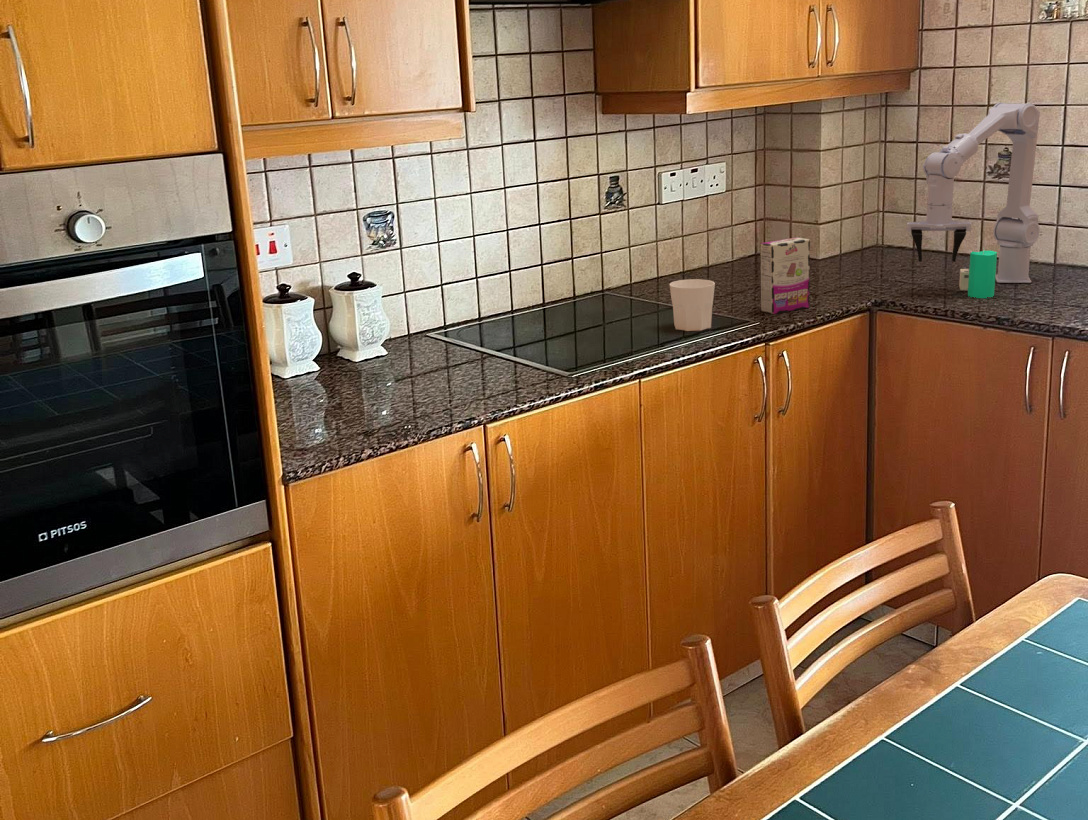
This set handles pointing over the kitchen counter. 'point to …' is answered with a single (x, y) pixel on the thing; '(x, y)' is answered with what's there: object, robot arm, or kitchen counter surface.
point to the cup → (692, 303)
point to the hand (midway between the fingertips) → (936, 260)
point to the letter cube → (964, 279)
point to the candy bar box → (785, 275)
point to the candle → (982, 274)
